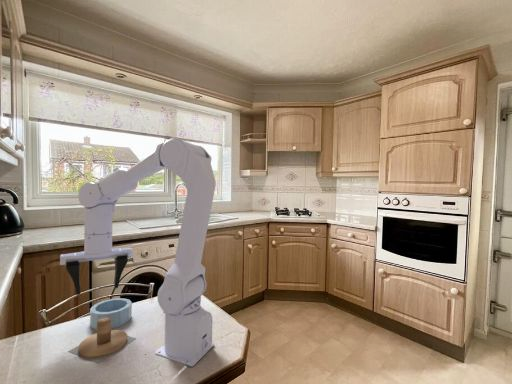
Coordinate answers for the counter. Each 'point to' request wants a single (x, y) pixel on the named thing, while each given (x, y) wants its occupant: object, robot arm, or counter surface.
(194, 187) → the robot arm
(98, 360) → the mat
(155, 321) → the counter surface
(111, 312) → the bowl
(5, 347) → the counter surface
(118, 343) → the lid
